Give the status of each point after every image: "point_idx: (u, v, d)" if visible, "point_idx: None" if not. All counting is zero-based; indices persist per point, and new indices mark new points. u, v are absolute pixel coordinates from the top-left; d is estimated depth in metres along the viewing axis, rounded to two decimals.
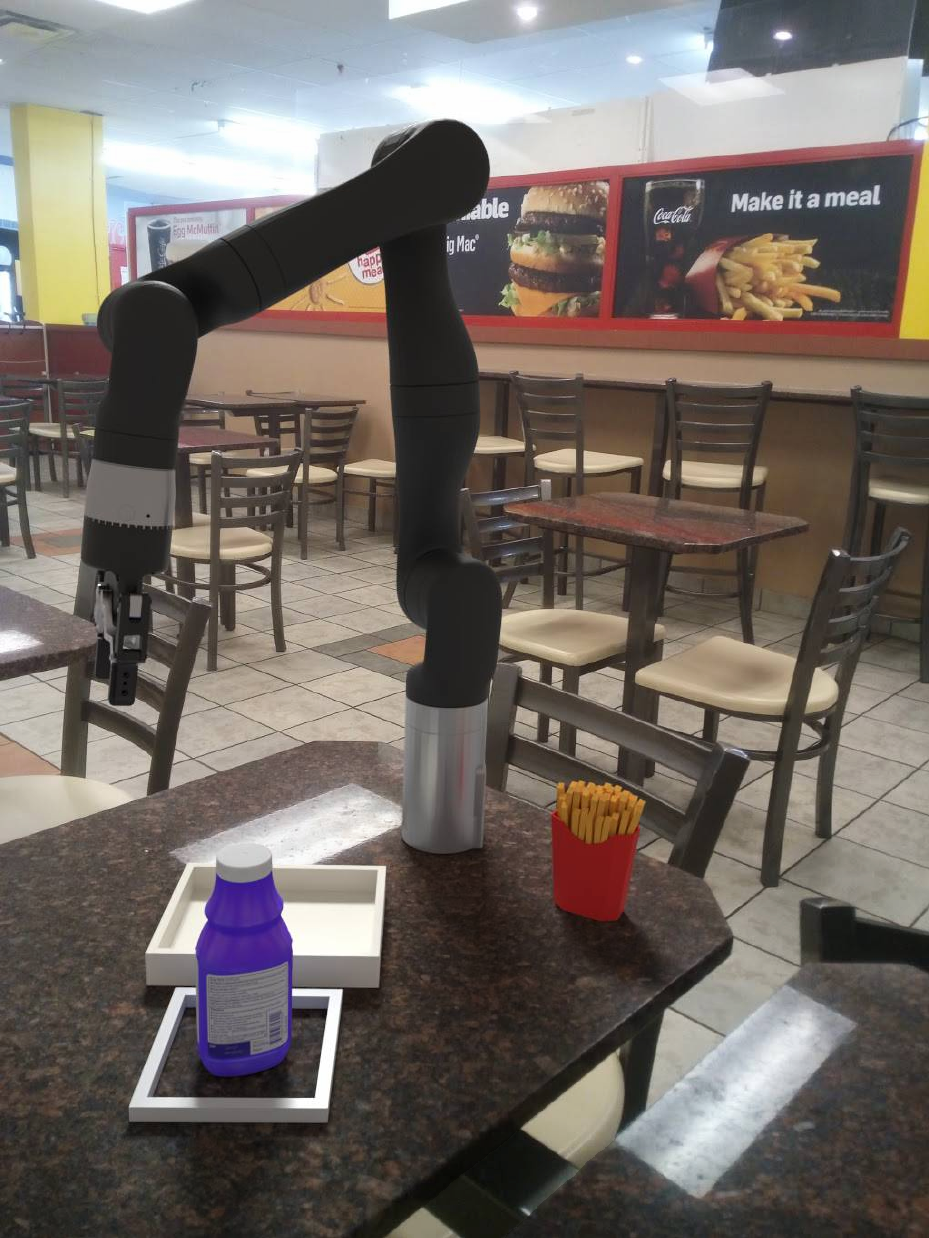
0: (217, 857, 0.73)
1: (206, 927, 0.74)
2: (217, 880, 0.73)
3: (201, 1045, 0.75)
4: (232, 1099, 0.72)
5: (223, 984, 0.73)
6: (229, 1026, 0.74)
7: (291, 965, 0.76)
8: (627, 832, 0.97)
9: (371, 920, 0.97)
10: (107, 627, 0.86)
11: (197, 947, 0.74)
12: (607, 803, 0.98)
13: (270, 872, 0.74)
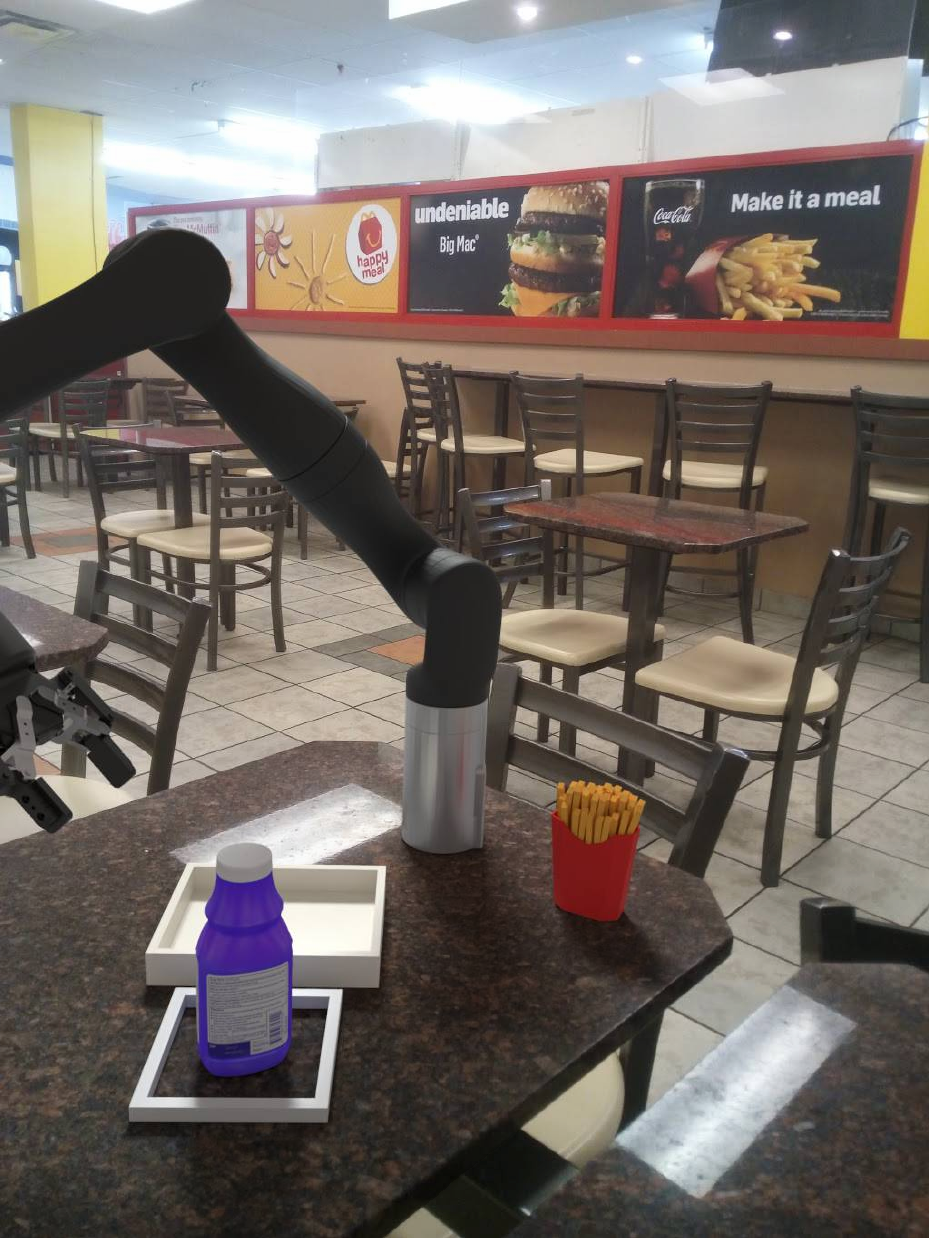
0: (217, 857, 0.73)
1: (206, 927, 0.74)
2: (217, 880, 0.73)
3: (201, 1045, 0.75)
4: (232, 1099, 0.72)
5: (223, 984, 0.73)
6: (229, 1026, 0.74)
7: (291, 965, 0.76)
8: (627, 832, 0.97)
9: (371, 920, 0.97)
10: None
11: (197, 947, 0.74)
12: (607, 803, 0.98)
13: (270, 872, 0.74)
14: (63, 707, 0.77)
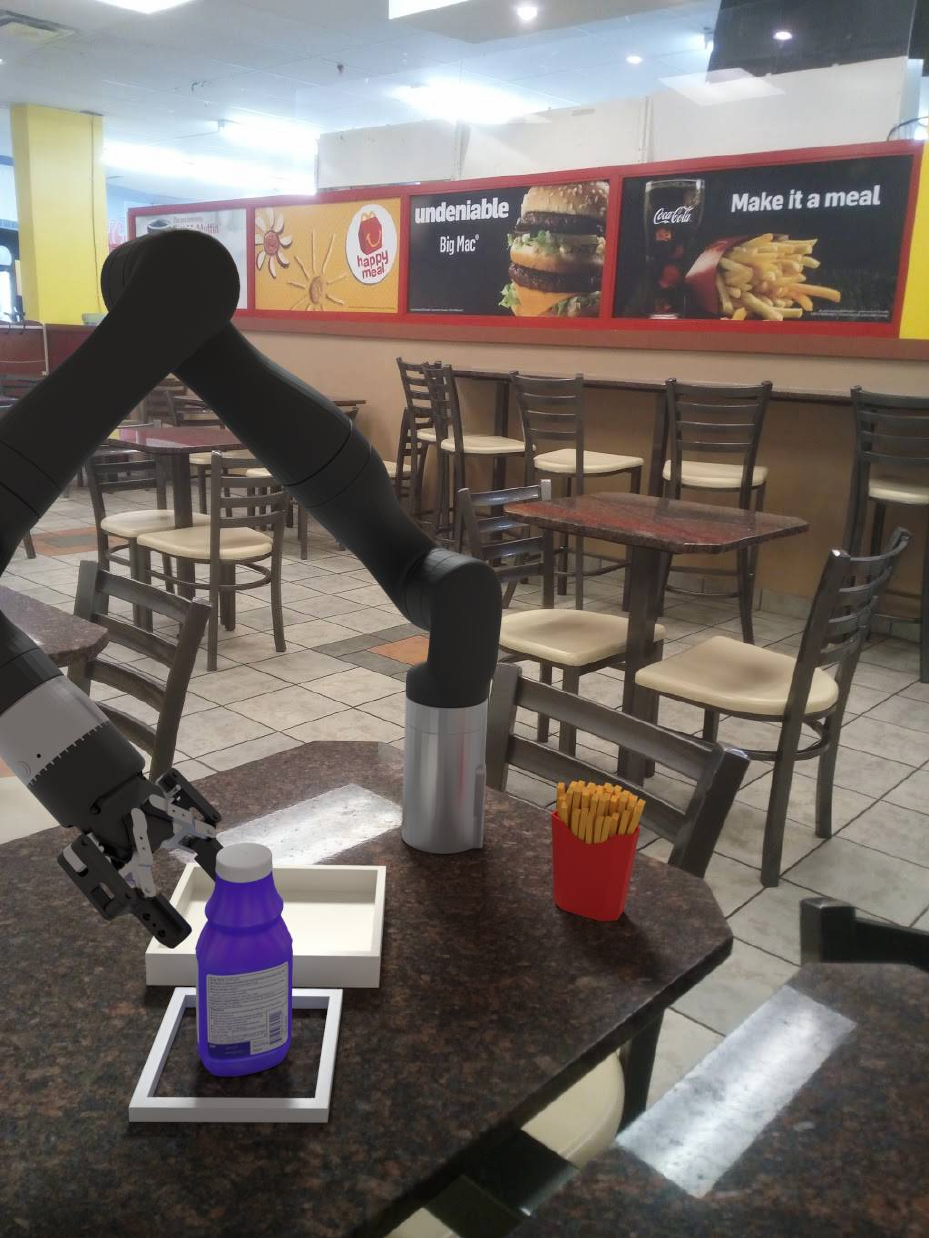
0: (217, 857, 0.73)
1: (206, 927, 0.74)
2: (217, 880, 0.73)
3: (201, 1045, 0.75)
4: (232, 1099, 0.72)
5: (223, 984, 0.73)
6: (229, 1026, 0.74)
7: (291, 965, 0.76)
8: (627, 832, 0.97)
9: (371, 920, 0.97)
10: None
11: (197, 947, 0.74)
12: (607, 803, 0.98)
13: (270, 872, 0.74)
14: (173, 815, 0.77)
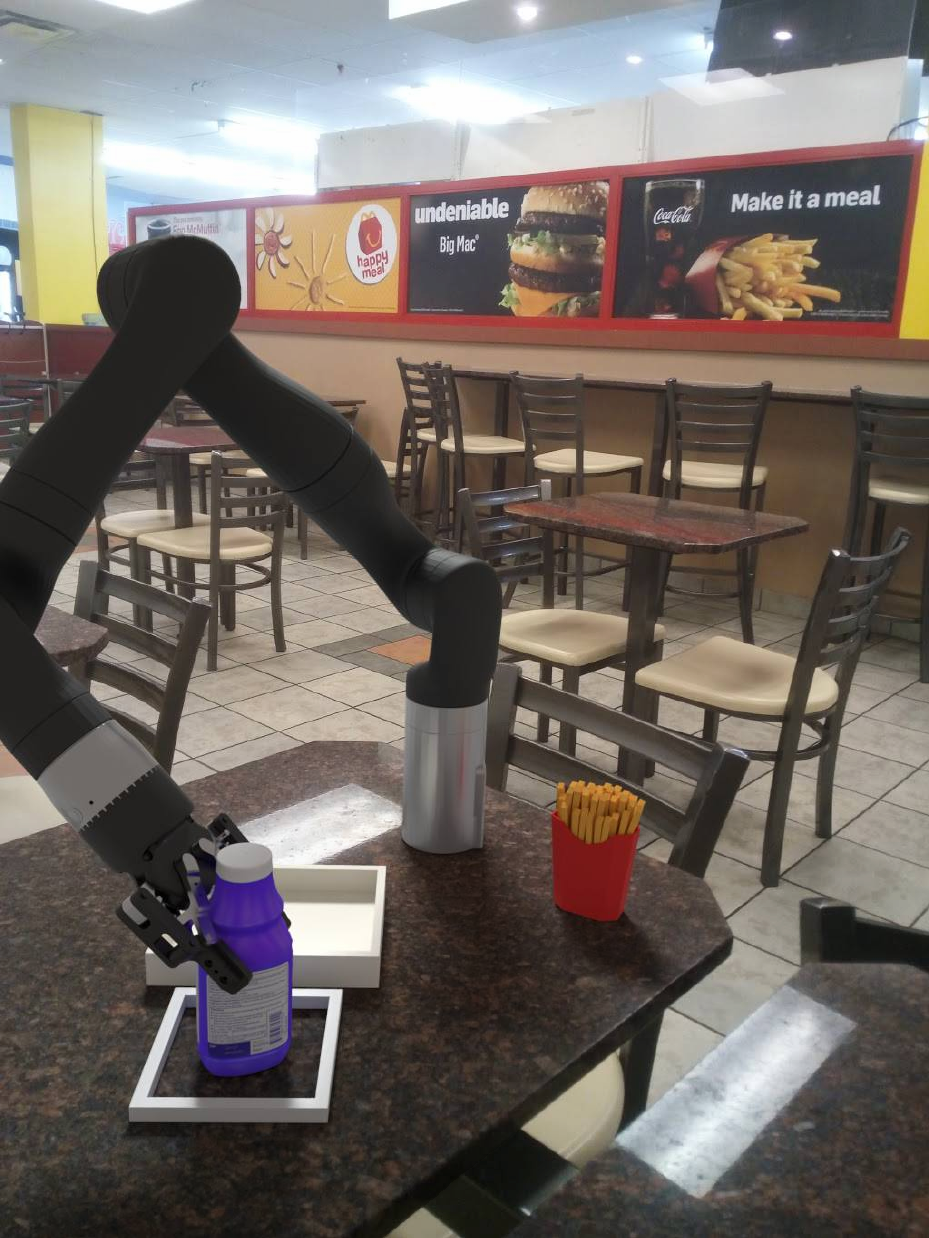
0: (217, 857, 0.73)
1: None
2: (217, 880, 0.73)
3: (201, 1045, 0.75)
4: (232, 1099, 0.72)
5: None
6: (229, 1026, 0.74)
7: (291, 965, 0.76)
8: (627, 832, 0.97)
9: (371, 920, 0.97)
10: None
11: None
12: (607, 803, 0.98)
13: (270, 872, 0.74)
14: None
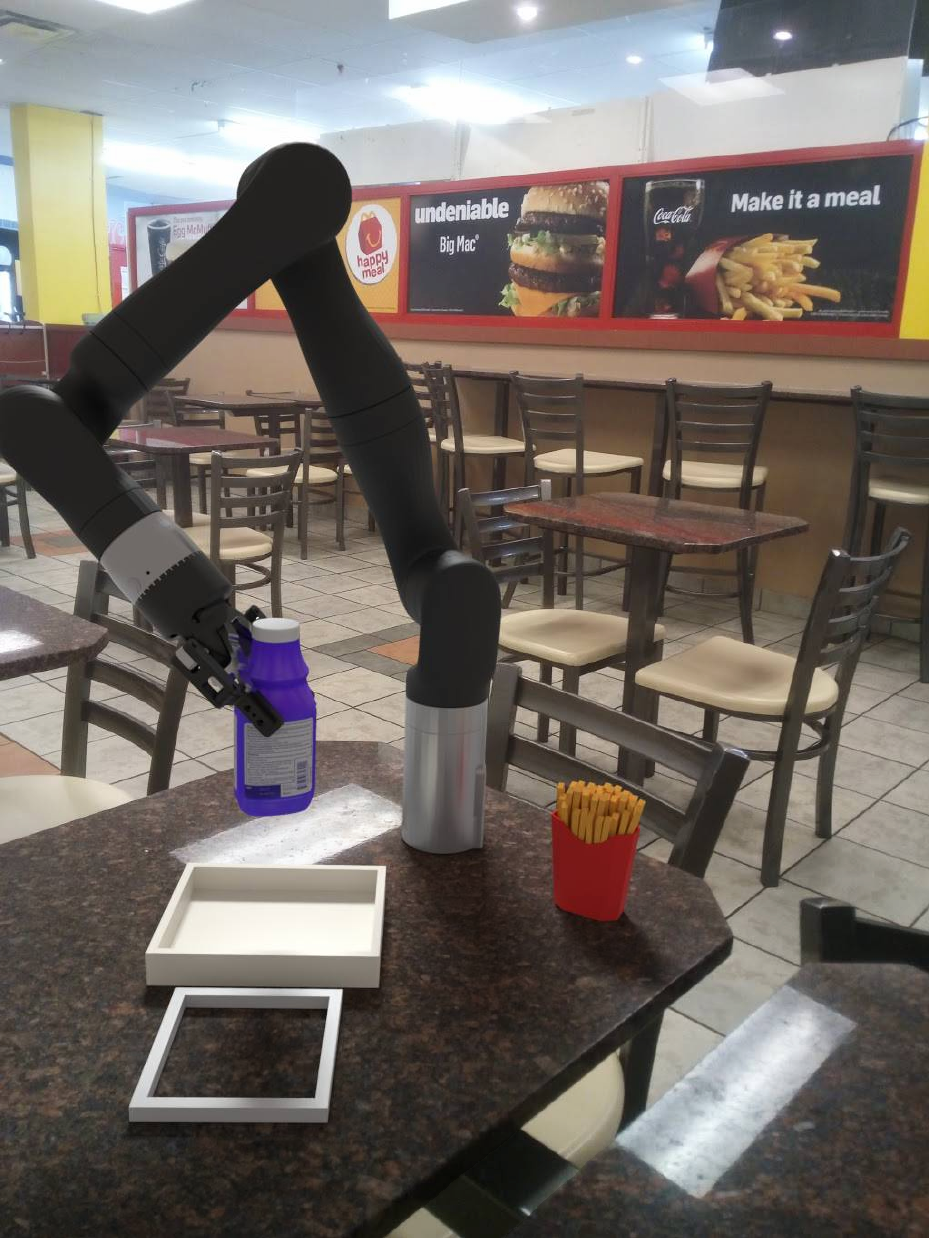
0: (253, 624, 0.86)
1: None
2: (253, 643, 0.86)
3: (239, 789, 0.88)
4: (232, 1099, 0.72)
5: None
6: (263, 770, 0.87)
7: (315, 723, 0.89)
8: (627, 832, 0.97)
9: (371, 920, 0.97)
10: (211, 680, 0.86)
11: None
12: (607, 803, 0.98)
13: (298, 638, 0.87)
14: None
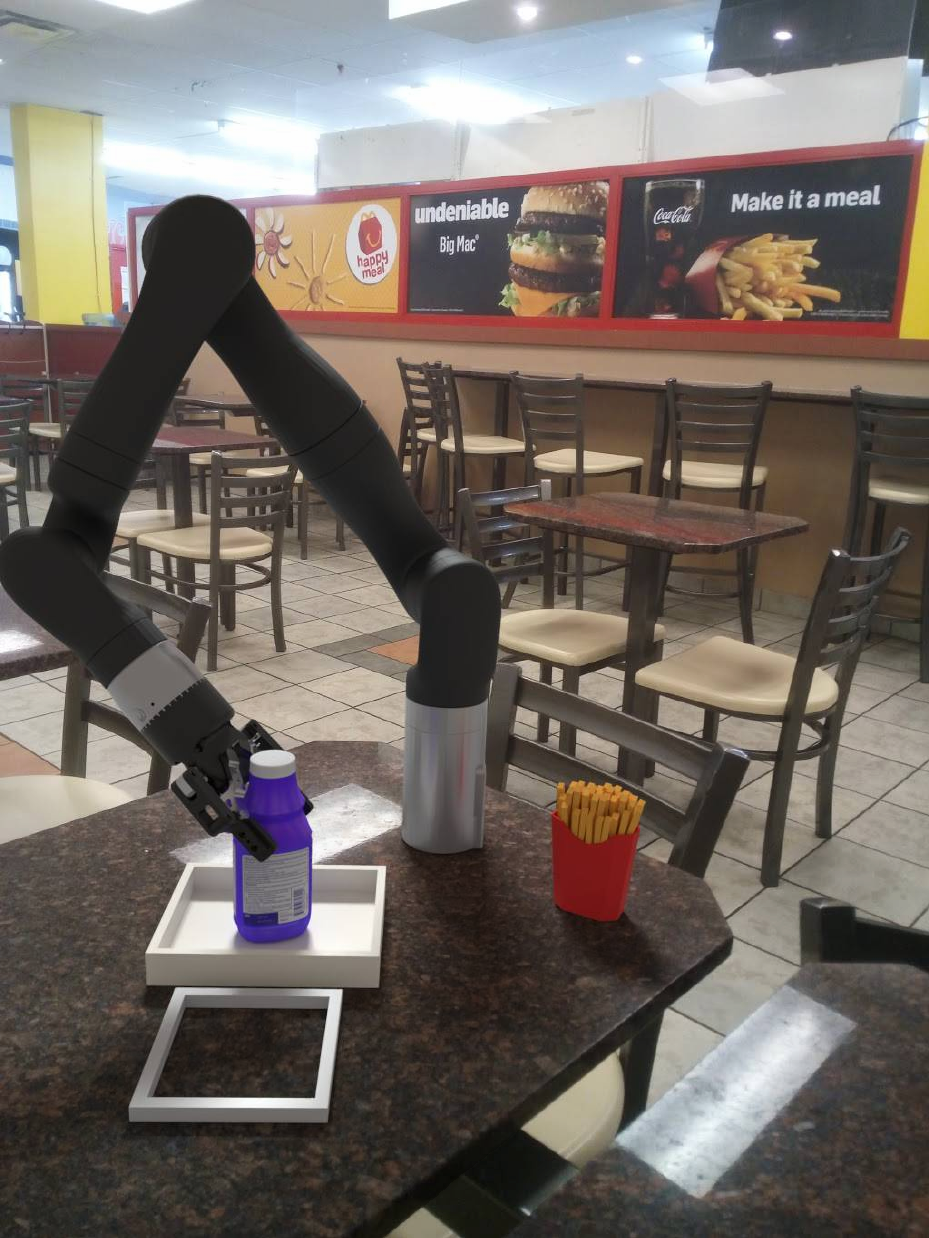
0: (251, 759, 0.89)
1: None
2: (251, 778, 0.89)
3: (237, 916, 0.91)
4: (232, 1099, 0.72)
5: (256, 863, 0.89)
6: (261, 899, 0.90)
7: (311, 851, 0.92)
8: (627, 832, 0.97)
9: (371, 920, 0.97)
10: None
11: None
12: (607, 803, 0.98)
13: (294, 772, 0.90)
14: None
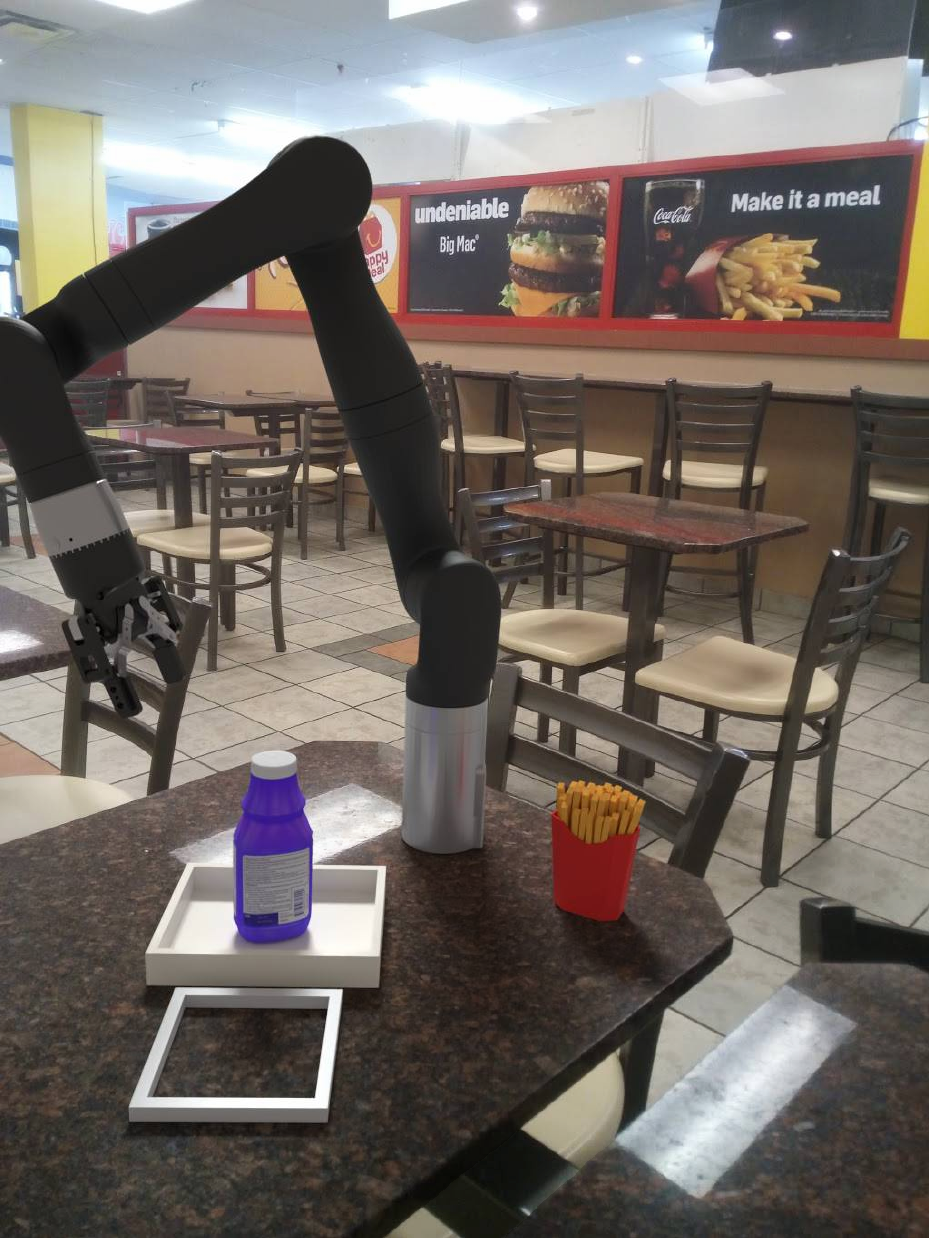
0: (252, 760, 0.89)
1: (242, 818, 0.90)
2: (252, 778, 0.89)
3: (238, 916, 0.91)
4: (232, 1099, 0.72)
5: (257, 863, 0.89)
6: (261, 899, 0.90)
7: (312, 852, 0.92)
8: (627, 832, 0.97)
9: (371, 920, 0.97)
10: None
11: (235, 835, 0.91)
12: (607, 803, 0.98)
13: (295, 773, 0.90)
14: (151, 616, 0.95)
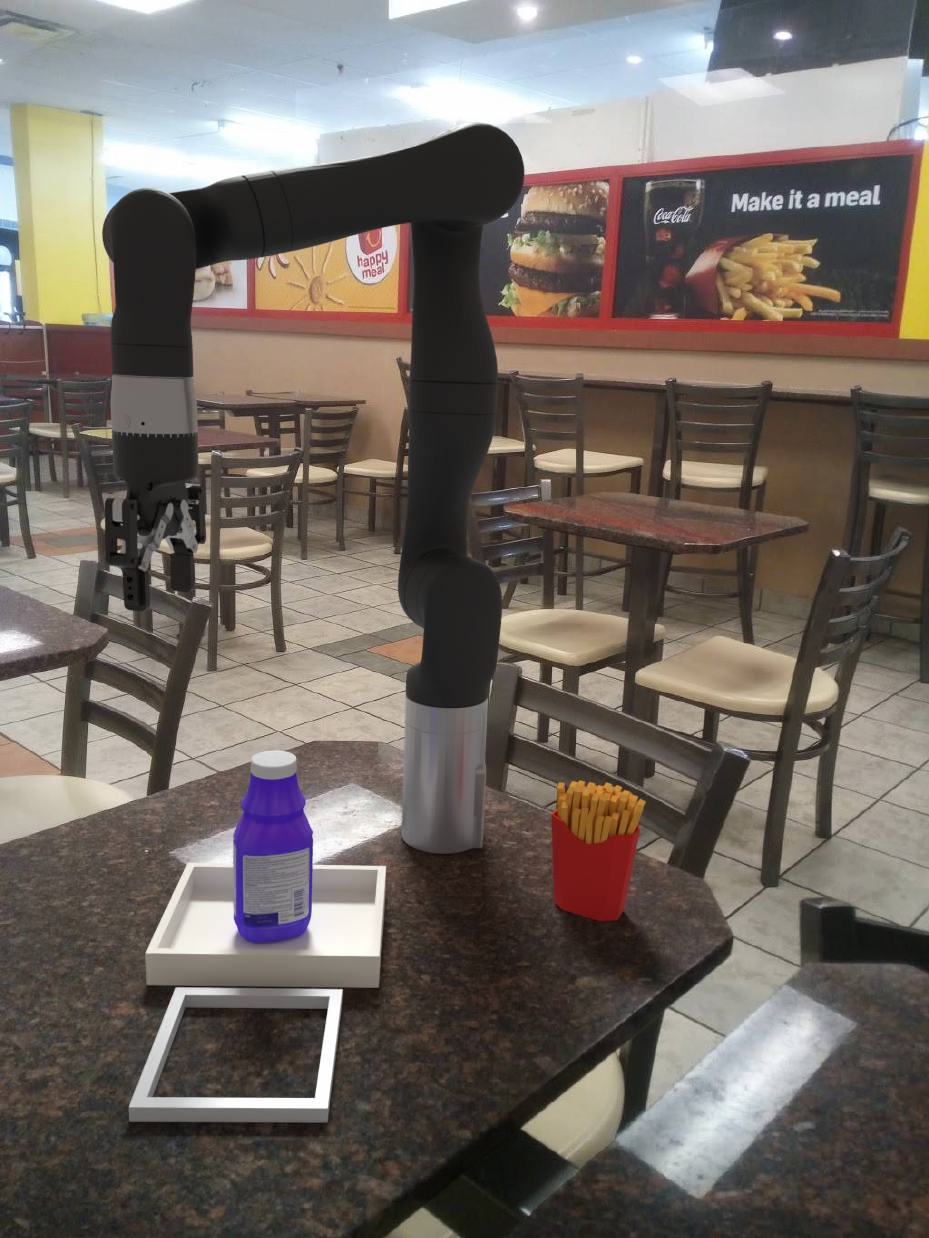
0: (252, 760, 0.89)
1: (242, 818, 0.90)
2: (252, 778, 0.89)
3: (238, 916, 0.91)
4: (232, 1099, 0.72)
5: (257, 863, 0.89)
6: (261, 899, 0.90)
7: (312, 852, 0.92)
8: (627, 832, 0.97)
9: (371, 920, 0.97)
10: None
11: (235, 835, 0.91)
12: (607, 803, 0.98)
13: (295, 773, 0.90)
14: (185, 522, 0.95)
